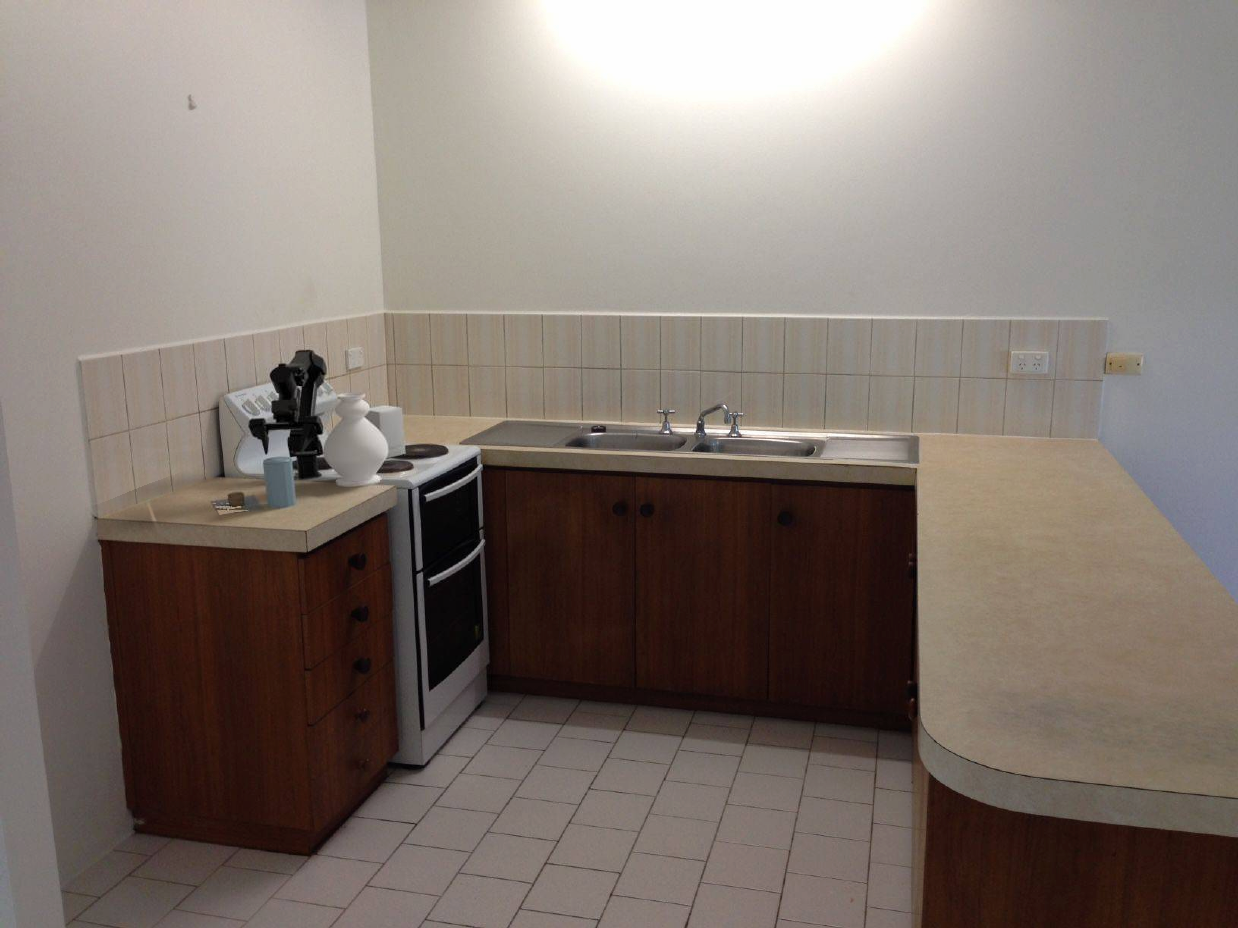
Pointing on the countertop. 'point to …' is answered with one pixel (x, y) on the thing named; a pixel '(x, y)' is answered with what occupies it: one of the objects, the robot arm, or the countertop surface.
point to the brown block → (236, 499)
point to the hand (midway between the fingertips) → (283, 452)
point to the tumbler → (279, 482)
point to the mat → (249, 505)
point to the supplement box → (389, 427)
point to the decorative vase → (355, 443)
